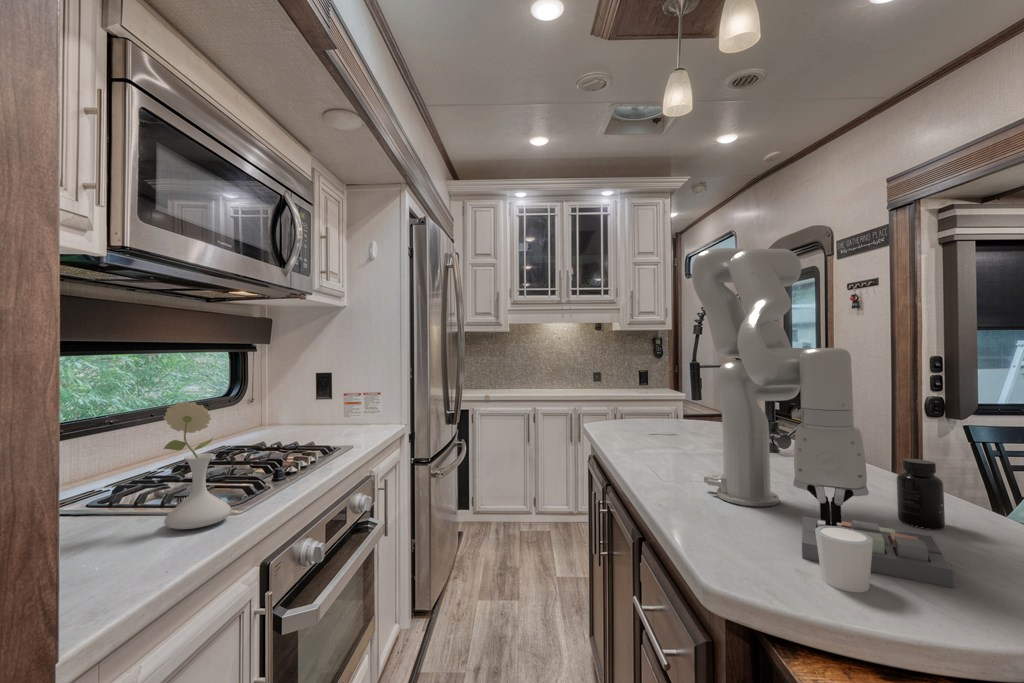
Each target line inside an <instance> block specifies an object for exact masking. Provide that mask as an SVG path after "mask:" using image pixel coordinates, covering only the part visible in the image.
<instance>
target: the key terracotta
mask: <svg viewBox="0 0 1024 683" xmlns="http://www.w3.org/2000/svg"><path fill="white" fill-rule="evenodd" d="M894 536H897V537H904V538H910V539H916V540H918V538H917V537H914V536H908V535H902V534H895V533H890V543H891V544H893V545H895V540H894Z"/></svg>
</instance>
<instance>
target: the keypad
mask: <svg viewBox="0 0 1024 683" xmlns="http://www.w3.org/2000/svg"><path fill="white" fill-rule="evenodd" d="M818 520H820V521H824V520H821V519H820V518H816V517H809V516H805V515H804V516H802V531H801V532H802V534H801V558H802V559H804V560H810V561H816V562H819V555H818V547H817V540H816V532H815V529H816V528H817V527H821V526H828V525H822V524H818ZM830 521H831V519H830ZM839 524H841V525H842V527H845V528H849V529H853V530H860V531H866V532H872V533H878V534H882V537H883V539H884V547H885V554H882V553H876V552H872V560H871V572H870V573H876V574H881V575H886V576H887V575H888V576H892V577H897V578H901V579H907V580H912V581H917V582H922V583H928V584H932V585H936V586H942V587H948V588H952V589H953V588H954V572H953V571H954V569H953V568H952V566H951V565H950V563H949V562H948V560H947V559H946V557H945V556H944V554H943V553H942V551H941V550H940V548H939V546H938V545H937V544H936V541H935V540H934V538H933V537H932V536H931V535H927V534H920V533H913V532H907V531H901V530H895V529H894V528H887V527H881V526H879V524H878V523H875V522H874V523H873V522H867V521H860V520H855V519H853V520H852V523H851V522H847V521H842V523H839ZM890 533H895V534H902V535H908V536H914V537H917V538H918V540H916V539H910V538H904V537H897V536H894V540H895V545H893V544H891V543H890Z"/></svg>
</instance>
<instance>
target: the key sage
mask: <svg viewBox="0 0 1024 683" xmlns="http://www.w3.org/2000/svg"><path fill="white" fill-rule="evenodd" d="M857 531H860V530H857ZM860 532H862V533H865V534H867V535H868V536H870V537H871V538H872V540H873V548H872V552H876V553H882V554H885V547H884V539H883V537H882V534H878V533H872V532H866V531H860Z"/></svg>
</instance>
